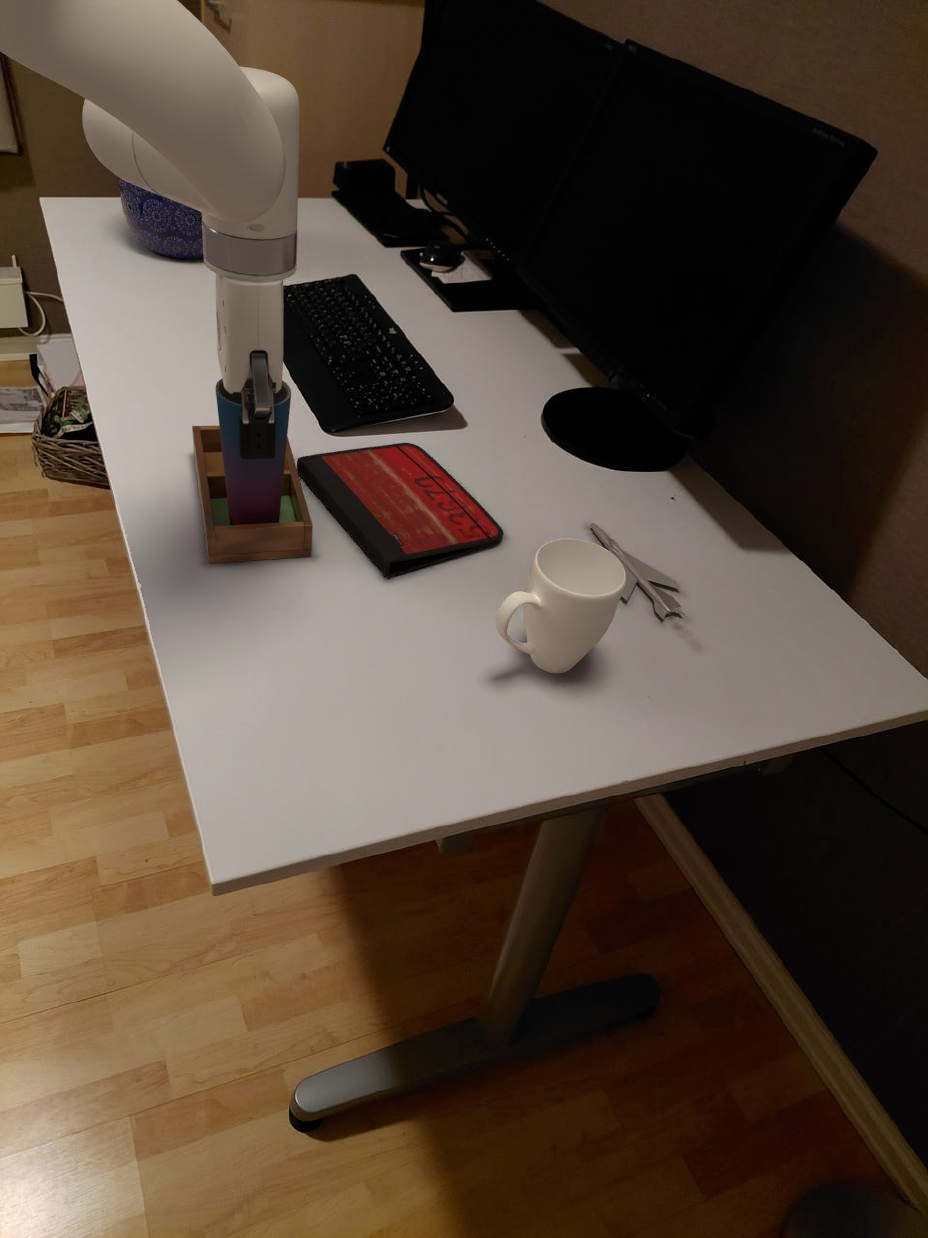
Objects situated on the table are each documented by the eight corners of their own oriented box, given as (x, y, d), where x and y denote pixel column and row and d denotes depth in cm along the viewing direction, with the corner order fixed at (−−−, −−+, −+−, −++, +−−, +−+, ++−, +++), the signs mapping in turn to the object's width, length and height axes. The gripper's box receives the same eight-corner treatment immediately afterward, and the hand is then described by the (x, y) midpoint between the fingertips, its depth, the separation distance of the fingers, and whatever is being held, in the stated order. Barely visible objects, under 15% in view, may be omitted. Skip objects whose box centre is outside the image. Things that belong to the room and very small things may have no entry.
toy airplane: (616, 522, 100) (622, 506, 99) (725, 640, 87) (733, 624, 86) (562, 531, 97) (566, 514, 96) (665, 655, 84) (673, 638, 82)
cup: (294, 508, 91) (299, 379, 81) (278, 546, 85) (280, 413, 76) (232, 496, 90) (228, 366, 80) (211, 533, 85) (205, 398, 75)
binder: (388, 561, 84) (295, 455, 96) (385, 579, 86) (294, 472, 98) (513, 530, 93) (414, 436, 105) (508, 547, 94) (411, 452, 106)
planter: (158, 273, 132) (144, 126, 119) (103, 232, 141) (85, 91, 128) (259, 259, 143) (258, 122, 129) (203, 221, 152) (196, 90, 138)
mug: (560, 619, 86) (588, 528, 78) (611, 674, 81) (646, 583, 73) (461, 652, 80) (481, 558, 72) (509, 713, 75) (536, 618, 67)
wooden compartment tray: (208, 563, 84) (206, 531, 81) (194, 456, 97) (192, 425, 94) (311, 556, 87) (312, 525, 84) (283, 453, 100) (284, 424, 98)
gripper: (195, 207, 74) (205, 394, 86) (212, 287, 62) (221, 490, 74) (281, 213, 77) (280, 394, 88) (313, 291, 65) (306, 487, 77)
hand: (253, 436), depth 81 cm, fingers closed on cup, 6 cm apart
